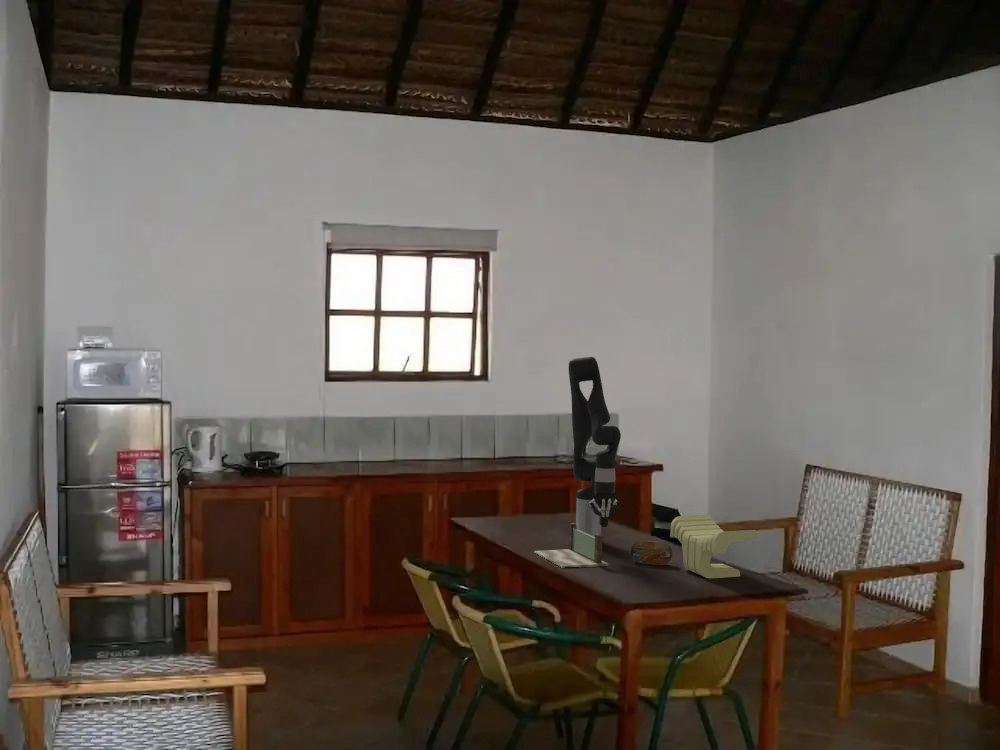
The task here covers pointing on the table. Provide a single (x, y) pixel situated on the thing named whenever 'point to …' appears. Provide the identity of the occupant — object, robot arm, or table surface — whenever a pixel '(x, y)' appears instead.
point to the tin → (651, 552)
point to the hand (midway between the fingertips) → (603, 526)
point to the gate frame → (574, 554)
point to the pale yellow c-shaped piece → (706, 544)
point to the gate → (583, 543)
